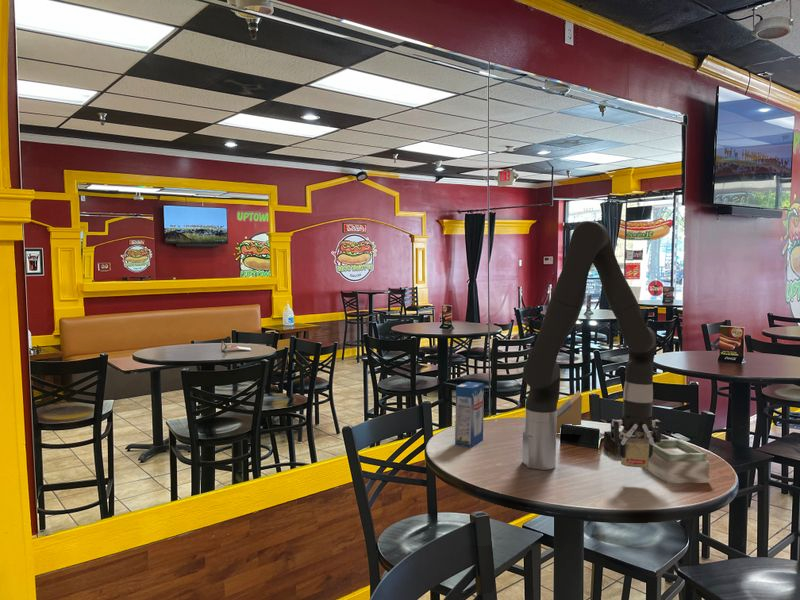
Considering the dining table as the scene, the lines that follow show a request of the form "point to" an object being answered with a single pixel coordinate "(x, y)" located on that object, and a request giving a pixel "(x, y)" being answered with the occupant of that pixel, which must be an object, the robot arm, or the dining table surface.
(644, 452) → the lighter
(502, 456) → the dining table surface
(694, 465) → the stand
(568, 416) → the sandwich container
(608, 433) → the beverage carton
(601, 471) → the dining table surface
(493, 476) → the dining table surface
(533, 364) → the robot arm
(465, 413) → the milk carton
